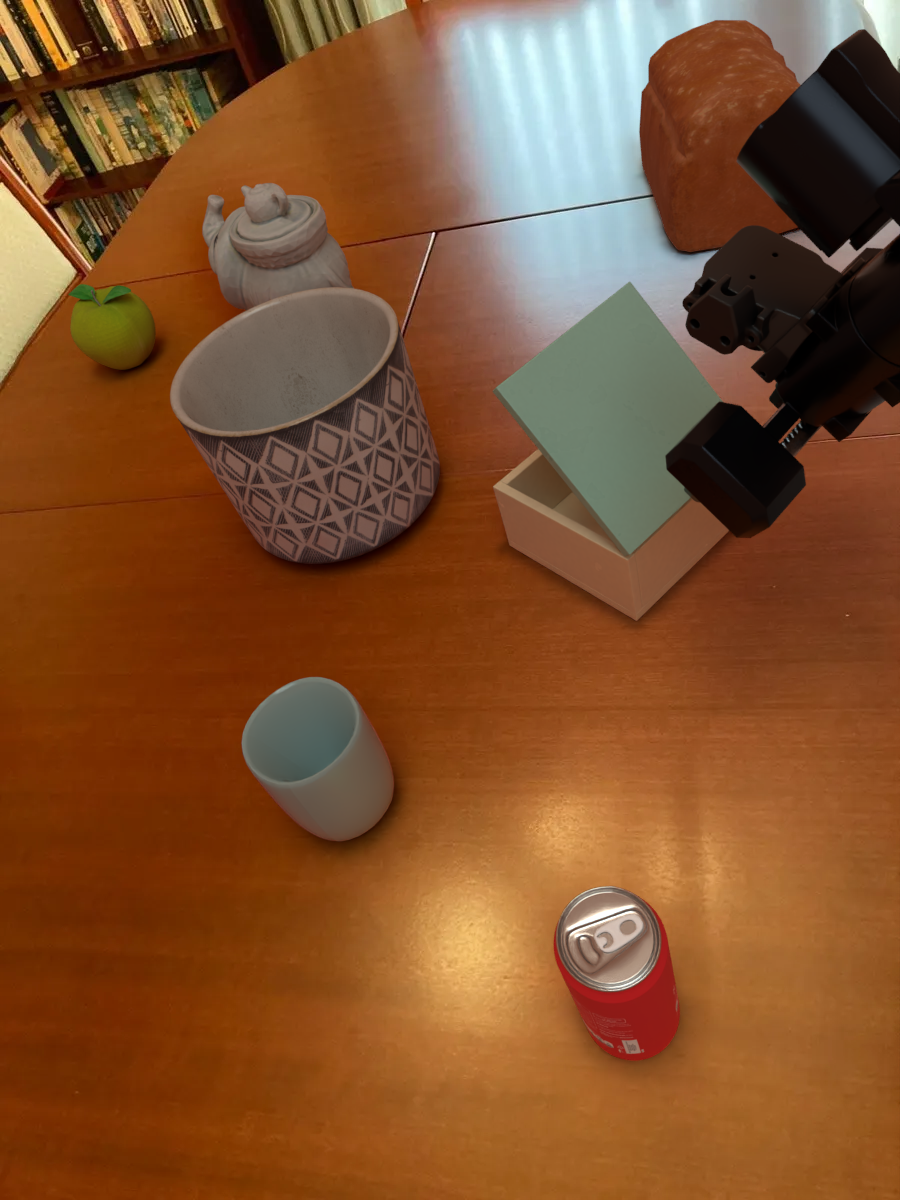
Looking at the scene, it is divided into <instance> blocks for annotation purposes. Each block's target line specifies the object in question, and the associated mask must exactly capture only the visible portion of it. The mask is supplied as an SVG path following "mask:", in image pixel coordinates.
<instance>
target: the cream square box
mask: <svg viewBox="0 0 900 1200" xmlns="http://www.w3.org/2000/svg"><path fill="white" fill-rule="evenodd" d="M492 490H493V493H494V496H495V500H496V503H497V507H498V510H499V514H500V517H501V520H502V524H503V527H504V531H505V534H506V538H507V541H508V545H509V546H510V547H511V548H513V549H514V550H516V551H518V552H520V553H521V554H523V555H525V556H526V557H528V558H530V559H531V560H533V561H534V562H536V563H538V564H539V565H541V566H542V567H545V568H546V569H548V570H550V571H551V572H553V573H555V574H556V575H558V576H560V577H561V578H564V579H565V580H567V581H568V582H570V583H571V584H573V585H575V586H577V587H578V588H580V589H582V590H583V591H585V592H587V593H588V594H590V595H592V596H593V597H595V598H597V599H599V600H601V602H604V603H605V604H606V605H609V606H611V607H612V608H614V609H616V610H617V611H619V612H620V613H622V614H624V615H625V616H627V617H629V618H630V619H632V620H634V621H636V622H638V620H640V619H641V618H642V617H643V616H644V615H645V614H646V613H647V612H648V611H649V610H650V609H651V608H653V606H654V605H655V604H656V603H657V602H658V601H660V599H661V598H662V597H663V596H664V595H665V594H666V593H668V591H669V590H670V589H672V587H673V586H675V584H676V583H677V582H679V580H680V579H682V578H683V577H684V576H685V575H686V574H687V573H688V572H689V571H690V570H691V569H692V568H693V567H694V566H695V565H696V564H697V563H698V562H699V561H700V560H701V559H702V558H703V557H704V556H705V555H706V554H707V553H709V551H711V549H712V548H714V547H715V545H716V544H717V543H718V542H719V541H721V540H722V539H723V537H725V536H726V535H727V534H728V533H729V532H730V531H729V530H728V529H727V528H726V527H725V526H724V525H723V524H722V523H721V522H720V521H719V520H718V519H717V518H716V517H715V516H714V515H713V514H712V513H711V512H710V511H709V510H708V509H707V508H706V507H704V506H703V505H702V504H701V503H699V502H695V501H694V500H693V499H692V498H690V499H689V500H688V501H687V502H686V503H685V504H684V505H683V506H682V507H680V508H679V509H678V510H677V511H676V512H675V513H674V514H673V515H672V516H671V517H670V518H669V519H668V520H667V521H666V522H664V523H663V524H662V525H661V526H660V527H659V528H658V529H657V530H656V531H655V532H654V533H653V534H652V535H651V536H650V537H648V538H647V539H646V540H645V541H644V542H643V543H642V544H641V545H640V546H639V547H638V548H637V549H636V550H635V551H634V552H632V553H631V554H630V555H628V556H624V555H623V554H622V553H621V552H620V550H619V549H618V548H617V547H616V545H615V544H614V543H613V542H612V540H611V539H610V538H609V537H608V535H607V534H606V533H605V532H604V530H603V529H602V528H601V527H600V525H599V524H598V523H597V522H596V520H595V519H594V518H593V517H592V515H591V514H590V513H589V512H588V510H587V509H586V508H585V507H584V505H583V504H582V503H581V502H580V500H579V499H578V498H577V497H576V495H575V494H574V493H573V492H572V490H571V489H570V488H569V487H568V485H567V484H566V483H565V482H564V480H563V479H562V478H561V477H560V475H559V474H558V473H557V472H556V470H555V469H554V468H553V467H552V465H551V464H550V463H549V462H548V460H547V459H546V458H545V457H544V455H543V454H542V453H541V452H540V450H539V449H538V448H537V449H536V450H535V451H534V452H532V453H531V454H530V455H528V456H527V457H526V458H525V459H524V460H523V461H521V462H520V463H519V464H518V465H516V466H515V467H514V468H513V469H512V470H511V471H509V472H508V473H507V474H506V475H505V476H504V477H502V479H500V480H499V481H498V482H496V483H495V484H494V485H492Z"/></svg>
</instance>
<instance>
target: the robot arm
mask: <svg viewBox="0 0 900 1200" xmlns="http://www.w3.org/2000/svg"><path fill="white" fill-rule="evenodd" d="M737 163H738V164H739V165H740V166H741V167H742V168H743V169H744V170H745V171H746V172H747V173H748V174H749V175H750V176H751V178H752V179H753V180H754V181H755V182H756V183H757V184H758V185H759V186H760V187H761V188H762V189H763V190H764V191H765V192H766V193H767V195H768V196H769V197H770V198H771V199H772V200H773V201H774V202H775V203H776V204H777V205H778V206H779V207H780V208H781V209H782V211H783V212H784V213H785V214H786V215H787V216H788V217H789V218H790V219H791V220H792V221H793V222H794V223H795V224H796V225H797V226H798V228H797V229H799V230H800V231H801V232H802V233H803V234H804V235H805V236H806V237H807V238H808V239H809V241H811V243H812V244H813V245H814V246H815V247H816V248H817V249H818V250H819V251H820V252H822V253H823V254H824V255H825V256H826V257H827V259H830V258H831V257H832V256H833V255H834V254H836V252H838V251H839V250H840V249H841V248H842V247H843V246H844V245H845V244H846V243H847V242H848V241H849V242H848V244H849V245H850V247H852V249H853V250H855V252H858V251H859V250H860V249H862V248H863V247H864V246H865V245H867V244H868V243H869V242H870V241H871V240H872V239H873V238H874V237H875V236H877V235H878V234H879V233H880V232H881V231H882V230H883V229H885V228H886V226H888V225H889V224H890V223H891V222H892V221H893V222H895V224H896V225H897V226H898V227H900V71H899V70H898V69H897V68H896V67H895V65H894V64H893V62H892V60H891V58H890V57H889V55H888V54H887V51H886V49H884V48H883V46H882V45H881V44H880V43H879V42H878V41H877V39H876V38H874V36H873V35H871V34H870V33H869V32H868V30H867V29H866V28H864V29H858V30H856V31H855V32H854V33H852V34H851V35H850V36H848V37H847V38H845V39H844V40H843V41H841V42H840V43H839V44H838V45H836V46H835V47H833V48H832V49H831V50H830V51H829V53H827V55H826V57H825V58H824V59H823V60H822V62H821V63H820V64H819V66H818V67H817V68H816V70H815V71H814V72H812V73H811V74H810V75H809V76H808V77H807V78H806V79H805V80H804V81H803V82H802V83H800V86H799V87H798V88H797V89H796V90H795V91H794V92H793V93H792V95H791V96H790V97H789V98H788V99H787V100H786V101H785V102H784V103H783V104H782V105H781V106H780V107H779V109H778V110H777V111H776V112H775V113H773V114H772V115H771V116H769V117H768V118H767V119H766V120H764V121H763V122H762V123H760V124H759V125H758V126H757V127H756V129H755V130H754V131H753V133H752V134H751V135H750V137H749V138H748V139H747V141H746V143H745V144H744V146H743V147H742V149H741V151H740V153H739V155H738V157H737ZM682 307H683V309H684V310H685V311H686V312H687V316H686V320H685V324H684V325H685V329H686V331H687V333H688V334H689V336H690V337H691V338H693V339H695V340H696V341H698V342H700V343H702V344H703V345H705V346H707V347H708V348H711V349H712V350H714V351H715V352H718V353H719V354H721V355H723V356H725V355H731V354H733V353H734V352H735V351H736V350H737V349H738V348H740V347H741V346H743V347H744V348H746V349H749V350H751V351H755V352H763V354H762V355H760V356H759V358H758V359H757V360H756V361H754V363H753V364H752V365H751V366H750V369H751V370H752V371H753V372H754V373H756V375H758V376H759V378H761V379H762V380H763V381H764V382H765V383H766V384H771V383H772V382H773V381H775V385H774V387H775V388H774V390H773V391H772V392H771V394H770V395H769V397H768V400H769V402H770V403H771V404H772V405H773V406H774V407H775V408H776V410H775V412H774V413H773V414H772V415H771V416H770V417H769V418H768V420H766V421H765V423H763V425H762V424H761V423H760V422H759V421H758V420H757V419H755V417H754V416H753V415H751V414H750V413H749V412H748V411H747V410H746V409H745V408H744V407H743V406H742V405H740V404H736V403H735V404H734V403H730V402H725V401H723V402H720V401H719V402H718V403H717V404H716V405H715V406H714V407H713V408H711V409H710V410H709V411H708V412H707V413H706V414H705V415H704V416H703V417H702V418H701V419H700V420H699V421H698V422H697V423H696V424H695V425H694V426H693V427H692V428H691V429H690V430H689V431H688V432H687V433H686V435H685V436H684V437H683V438H682V439H681V440H680V441H679V442H678V443H677V444H676V445H675V446H674V447H673V448H672V449H671V450H670V451H669V452H668V453H667V454H666V455H665V458H666V469H667V471H668V472H669V473H670V474H671V475H673V476H674V477H675V478H676V479H677V480H678V481H679V482H680V483H681V484H682V485H683V486H684V487H685V488H684V491H685V492H686V493H687V494H688V495H689V496H690V497H691V498H692V499H693V500H694V501H695V502H699V503H701V504H702V505H703V506H704V507H706V508H707V509H708V510H709V511H710V512H711V513H712V514H713V515H714V516H715V517H716V518H717V519H718V520H719V521H720V522H721V523H722V524H723V525H724V526H725V527H726V528H727V529H728V530H729V532H730V533H731V534H732V535H733V536H734V537H735V538H736V539H752V538H753V537H755V536H757V535H759V534H760V533H762V532H764V531H765V530H768V529H769V528H771V526H772V525H773V524H774V523H775V522H776V521H777V519H778V518H779V517H780V516H781V515H782V514H783V513H784V511H785V510H786V509H787V508H788V507H789V505H790V504H791V503H792V502H793V501H794V500H795V499H796V497H797V496H798V495H799V494H800V493H801V492H802V490H803V489H804V488H805V487H806V486H807V482H806V474H805V473H806V472H805V466H804V465H803V464H802V463H801V462H800V461H799V460H798V459H797V458H796V457H797V455H798V454H799V453H800V452H801V451H802V450H803V448H804V447H805V446H806V445H807V444H808V443H809V441H811V440H812V438H813V437H814V436H815V435H816V434H817V432H818V431H819V430H820V429H821V428H824V430H826V432H828V433H829V434H830V435H831V436H832V437H833V438H834V439H835V440H836V441H837V443H840V442H842V441H844V440H845V439H846V438H848V437H850V436H851V435H852V434H853V433H854V432H855V431H856V430H857V428H859V426H860V425H861V424H862V422H863V421H865V419H866V418H867V417H868V416H869V415H870V414H871V412H872V411H873V410H874V409H876V408H877V407H879V406H880V405H881V404H883V403H884V402H885V403H887V404H888V405H889V406H890V407H891V408H894V407H895V406H897V405H898V404H900V233H898V234H897V236H895V237H894V238H893V239H892V240H891V241H889V243H888V244H887V245H886V246H884V247H883V248H879V247H865V249H863V250H862V251H861V252H860V253H859V254H857V256H856V257H855V258H854V259H853V260H852V261H851V262H850V263H848V265H846V266H845V268H844V269H842V271H839V270H837V269H836V268H835V267H833V266H831V265H830V264H828V263H826V262H825V261H824V260H823V258H822V257H821V256H820V254H818V253H817V252H815V251H813V250H811V249H809V248H807V247H805V246H804V245H802V244H799V243H797V242H795V241H794V240H791V239H789V238H787V237H786V236H784V235H782V234H780V233H779V234H777V233H775V232H773V231H771V230H769V229H767V228H765V227H762V226H757V225H751V226H747V227H744V228H742V229H741V230H739V231H738V232H737V233H736V234H735V235H734V236H733V237H732V238H731V239H730V240H729V241H728V242H727V243H726V244H725V245H724V246H722V247H719V248H718V250H717V251H716V252H714V254H713V255H712V256H711V257H710V258H709V259H708V260H706V261H705V263H704V266H703V269H702V274H701V276H700V277H699V278H698V279H697V280H696V281H695V282H694V286H693V289H692V290H691V291H690V292H689V293H688V294H686V296H685V297H684V298H683V299H682ZM798 421H799V422H798ZM797 422H798V423H797ZM795 424H796V425H795ZM794 425H795V427H794V428H792V427H793V426H794ZM789 431H790V432H789ZM788 432H789V433H788ZM785 435H786V437H784V436H785ZM783 437H784V438H783ZM782 438H783V439H782ZM781 439H782V441H781ZM780 441H781V442H780Z"/></svg>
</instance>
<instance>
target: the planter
mask: <svg viewBox="0 0 900 1200" xmlns="http://www.w3.org/2000/svg"><path fill="white" fill-rule="evenodd" d="M353 288H354V287H353ZM353 288H343V287H329V288H317V289H310V290H305V291H300V292H295V293H292V294H288V295H284V296H281V297H278V298H275V299H272V300H270V301H267V302H264V303H262V304H260V305H257V306H255V307H253V308H251V309H249V310H247V311H246V310H244V311H242V312H241V313H239V314H237V315H236V316H233V317H232V318H230V319H229V320H227V321H225V322H224V323H223V324H221V325H219V326H218V327H217V328H215V329H214V330H213V331H212V332H210V333H209V334H208V335H207V336H205V337H204V338H203V339H202V340H201V341H200V342H199V343H197V345H196V346H195V347H193V348H192V349H191V351H189V353H188V354H187V356H186V357H185V358H184V359H183V361H182V362H181V363H180V365H179V367H178V369H177V371H176V372H175V374H174V377H173V379H172V381H171V385H170V391H169V403H170V406H171V410H172V411H173V413H174V415H175V417H176V418H177V420H178V421H179V423H180V424H181V426H182V428H183V429H184V430H185V432H186V434H187V435H188V437H189V438H190V441H192V443H193V444H194V446H195V448H196V450H197V451H198V452H199V454H200V456H201V457H202V459H203V461H204V462H205V464H206V465H207V467H208V468H209V470H210V471H211V473H212V474H213V476H214V478H215V479H216V480H217V482H218V484H219V485H220V487H221V489H222V490H223V492H224V493H225V495H226V496H227V498H228V499H229V501H230V503H231V504H232V505H233V507H234V509H235V510H236V512H237V513H238V515H239V517H240V518H241V520H242V521H243V524H244V525H245V526H246V528H247V529H248V530H249V532H250V534H251V535H252V537H253V538H254V540H255V541H256V543H258V544H259V546H261V547H262V548H263V549H264V550H265V551H266V552H268V553H270V554H271V555H273V556H275V557H277V558H279V559H282V560H284V561H288V562H292V563H297V564H303V565H304V564H305V565H324V564H332V563H337V562H343V561H347V560H351V559H354V558H357V557H360V556H363V555H366V554H368V553H370V552H372V551H374V550H376V549H378V548H381V547H382V546H385V545H386V544H387V543H389V542H391V541H392V540H394V539H396V538H397V537H398V536H400V535H401V534H403V532H405V531H406V530H408V528H410V527H411V526H412V525H413V524H414V523H415V522H416V521H417V520H418V519H419V517H420V516H421V515H423V513H424V512H425V510H426V509H427V507H428V506H429V504H430V503H431V501H432V499H433V497H434V495H435V493H436V490H437V487H438V484H439V480H440V475H441V464H440V463H441V462H440V458H439V454H438V450H437V447H436V443H435V440H434V438H433V433H432V430H431V427H430V422H429V420H428V416H427V414H426V410H425V407H424V404H423V400H422V397H421V394H420V390H419V386H418V384H417V380H416V377H415V373H414V370H413V366H412V364H411V360H410V356H409V353H408V351H407V347H406V343H405V341H404V340H405V339H404V337H403V334H402V331H401V327H400V324H399V323H400V322H399V319H398V317H397V314H396V312H395V310H394V308H393V307H392V306H391V304H389V302H387V301H386V300H385V299H384V298H382V297H380V296H379V295H377V294H374V293H372V292H369V291H366V290H363V289H359V288H354V289H353Z"/></svg>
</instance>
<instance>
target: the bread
mask: <svg viewBox="0 0 900 1200" xmlns="http://www.w3.org/2000/svg"><path fill="white" fill-rule="evenodd" d="M647 66H648V67H647V69H648V72H647V73H648V74H647V75H648V77H647V78H648V82H647V84H646V85H645V87H644V88H643V89H642V91H641V95H640V96H641V97H640V111H639V112H640V114H639V115H640V116H639V130H638V132H639V133H638V134H639V146H640V158H641V167H642V169H643V172H644V175H645V178H646V180H647V183H648V185H649V188H650V191H651V194H652V196H653V199H654V202H655V204H656V208H657V210H658V213H659V217H660V220H661V223H662V225H663V230H664V232H665V234H666V237H667V238H668V240H669V241H670V243H671V244H672V245H673V246H674V247H675V249H676V250H677V251H682V252H688V253H692V252H693V253H694V252H700V251H705V250H711V249H717V248H718V249H719V248H721V247H722V246H724V245H725V244H726V243H727V242H728V241H729V240H730V239H731V238H732V237H733V236H734V235H735V234H736V233H737V232H738V231H739V230H741V229H742V228H744V227H747V226H751V225H757V226H762V227H765V228H767V229H769V230H771V231H773V232H775V233H777V234H779V235H780V234H781V233H785V232H788V231H791V230H795V229H799V228H798V226H797V225H796V224H795V223H794V222H793V221H792V220H791V219H790V218H789V217H788V216H787V215H786V214H785V213H784V212H783V211H782V209H781V208H780V207H779V206H778V205H777V204H776V203H775V202H774V201H773V200H772V199H771V198H770V197H769V196H768V195H767V193H766V192H765V191H764V190H763V189H762V188H761V187H760V186H759V185H758V184H757V183H756V182H755V181H754V180H753V179H752V178H751V176H750V175H749V174H748V173H747V172H746V171H745V170H744V169H743V168H742V167H741V166H740V165H739V164H738V163H737V157H738V155H739V153H740V151H741V149H742V147H743V146H744V144H745V143H746V141H747V139H748V138H749V137H750V135H751V134H752V133H753V131H754V130H755V129H756V127H757V126H758V125H759V124H760V123H762V122H763V121H764V120H766V119H767V118H768V117H769V116H771V115H772V114H773V113H775V112H776V111H777V110H778V109H779V107H780V106H781V105H782V104H783V103H784V102H785V101H786V100H787V99H788V98H789V97H790V96H791V95H792V93H793V92H794V91H795V90H796V89H797V88H798V87H799V86H800V85H801V83H800V82H798V80H797V76H796V73H795V72H794V71H792V70H791V69H790V68H789V67H788V66H787V64H786V61H785V56H784V55H782V53H780V52H778V51H777V50H776V49H775V47H774V44H773V41H772V38H771V37H770V36H769V34H768V33H766V32H765V31H764V30H763V29H761V28H760V27H758V26H757V25H755V24H753V23H752V22H750V21H748V20H746V19H736V20H735V19H714V20H712V21H709V22H707V23H704V24H701V25H698V26H695V27H693V28H690V29H689V30H686V31H684V32H682V33H680V34H678V35H676V36H674V37H672V38H670V39H668V40H666V41H665V42H664V43H663V44H662V45H661V46H660V47H659V48H658V49H657V50H656V51H655V52H654V53H653V54H652V55H651V57H649V62H648V65H647Z"/></svg>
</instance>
